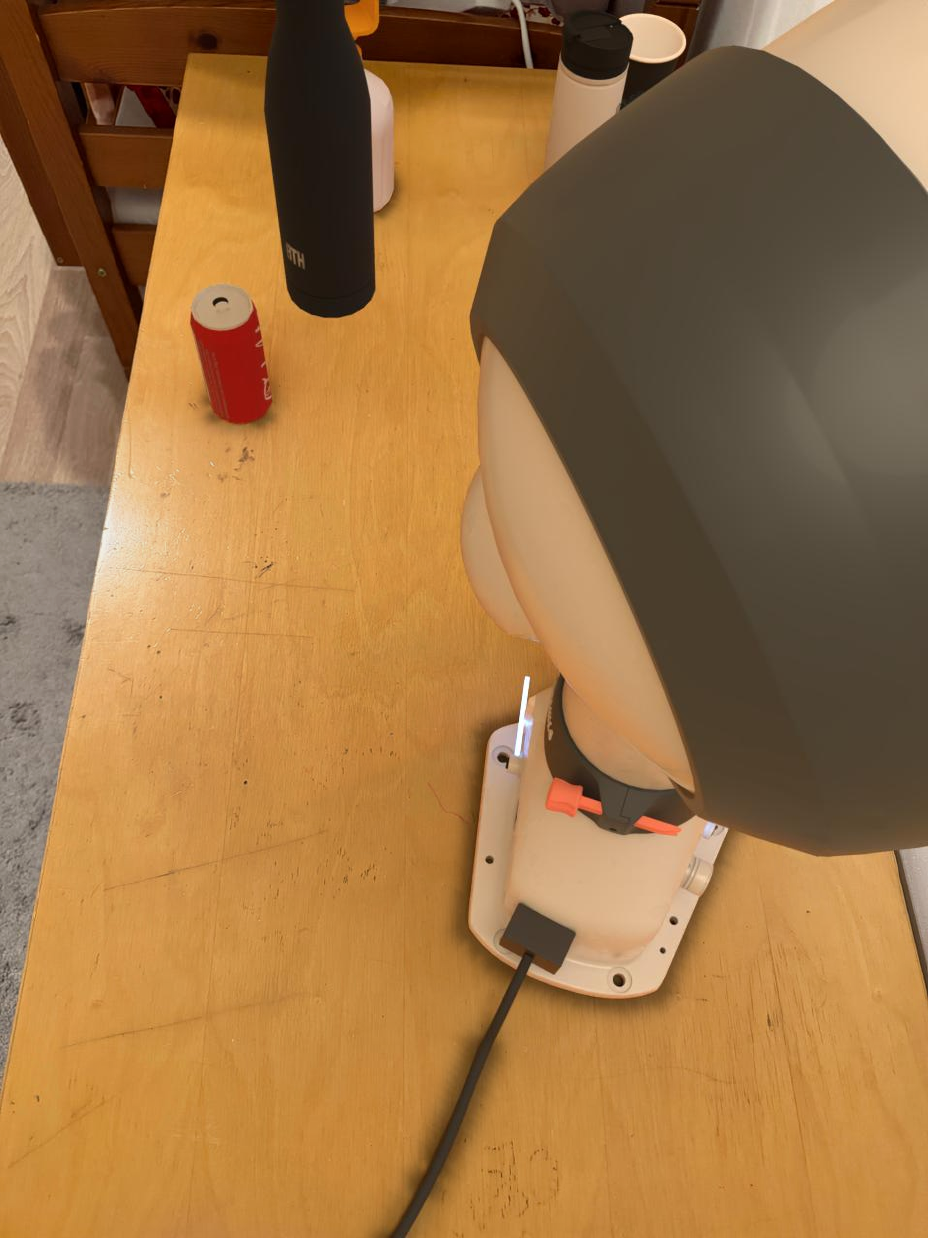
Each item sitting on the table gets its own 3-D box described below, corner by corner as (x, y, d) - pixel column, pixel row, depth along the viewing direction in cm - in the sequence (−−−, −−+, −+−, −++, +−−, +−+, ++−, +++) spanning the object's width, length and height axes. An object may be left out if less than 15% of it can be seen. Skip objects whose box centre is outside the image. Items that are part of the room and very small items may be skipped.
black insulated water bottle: (381, 259, 75) (372, -231, 48) (369, 323, 72) (353, -162, 45) (295, 249, 75) (238, -247, 48) (279, 313, 72) (210, -179, 45)
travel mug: (524, 201, 106) (549, 9, 88) (579, 186, 107) (614, -6, 90) (551, 240, 103) (582, 51, 86) (607, 224, 105) (649, 35, 87)
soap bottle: (297, 168, 106) (272, -87, 84) (381, 155, 108) (377, -98, 86) (317, 226, 102) (296, -26, 81) (404, 211, 104) (406, -38, 82)
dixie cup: (618, 165, 109) (639, 68, 100) (576, 123, 112) (593, 25, 103) (675, 142, 112) (702, 46, 102) (633, 102, 115) (654, 4, 105)
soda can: (280, 417, 90) (264, 319, 80) (220, 433, 89) (196, 335, 79) (262, 373, 93) (245, 271, 82) (204, 387, 91) (178, 286, 81)
